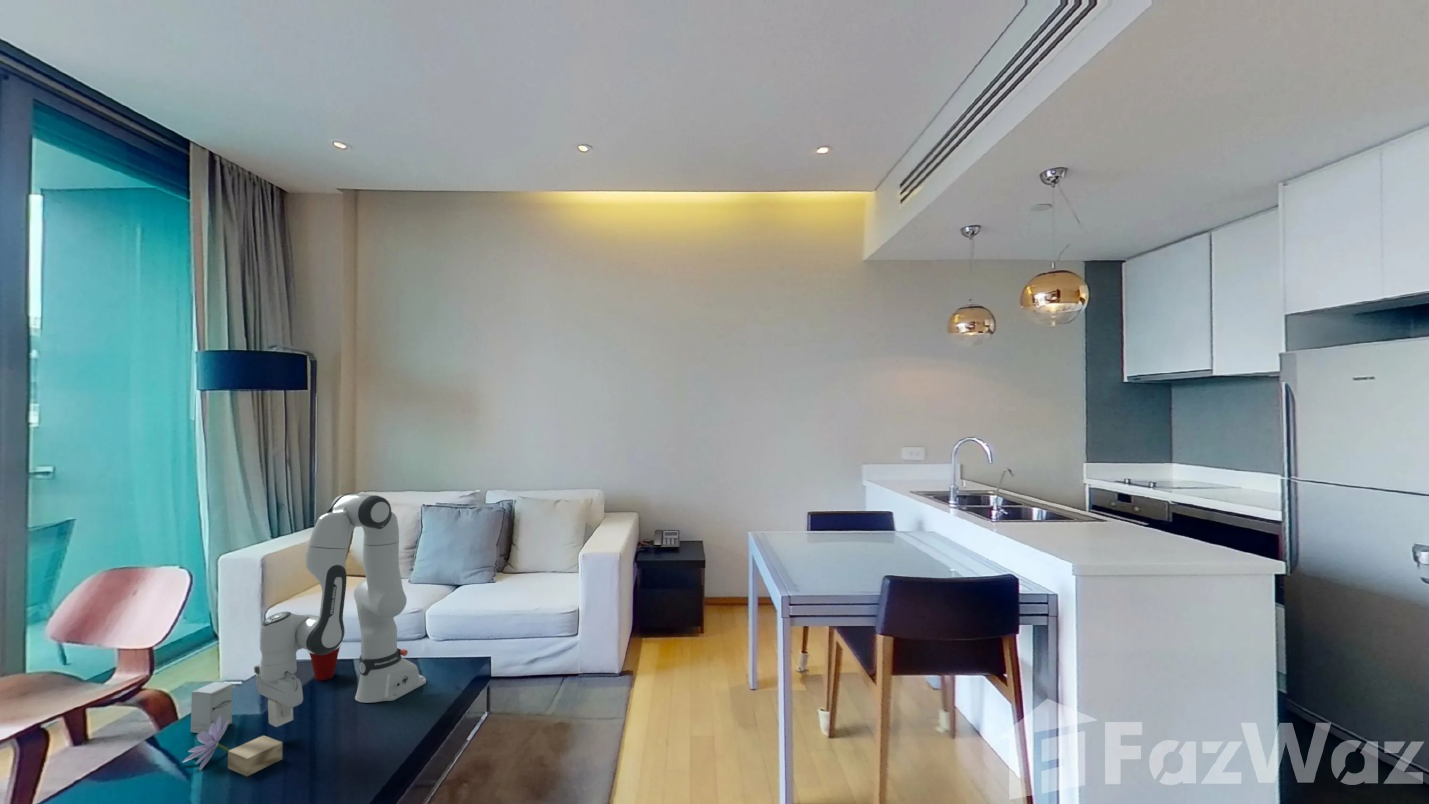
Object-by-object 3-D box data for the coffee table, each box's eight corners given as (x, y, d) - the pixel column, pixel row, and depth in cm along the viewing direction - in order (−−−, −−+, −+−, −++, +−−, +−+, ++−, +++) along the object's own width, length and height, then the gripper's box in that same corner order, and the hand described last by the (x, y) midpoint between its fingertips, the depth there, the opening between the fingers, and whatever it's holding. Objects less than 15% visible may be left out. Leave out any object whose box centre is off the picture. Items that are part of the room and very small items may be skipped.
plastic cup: (303, 685, 219) (303, 652, 219) (311, 673, 229) (311, 641, 229) (338, 681, 222) (338, 648, 223) (344, 669, 233) (344, 638, 233)
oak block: (263, 752, 176) (263, 735, 177) (282, 759, 173) (282, 742, 173) (227, 769, 168) (228, 750, 168) (246, 777, 164) (247, 758, 165)
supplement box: (209, 735, 185) (210, 693, 186) (189, 732, 187) (190, 691, 187) (233, 723, 193) (233, 682, 193) (214, 720, 194) (214, 680, 194)
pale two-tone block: (285, 716, 187) (284, 691, 187) (293, 719, 185) (292, 695, 184) (268, 723, 183) (267, 698, 183) (276, 727, 181) (275, 701, 181)
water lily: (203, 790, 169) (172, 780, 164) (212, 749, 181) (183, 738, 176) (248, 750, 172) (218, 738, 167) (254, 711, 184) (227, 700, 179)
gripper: (308, 671, 181) (310, 717, 181) (274, 657, 191) (275, 701, 192) (284, 680, 176) (286, 727, 176) (251, 665, 186) (252, 710, 186)
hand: (280, 713), depth 184 cm, fingers closed on pale two-tone block, 5 cm apart
